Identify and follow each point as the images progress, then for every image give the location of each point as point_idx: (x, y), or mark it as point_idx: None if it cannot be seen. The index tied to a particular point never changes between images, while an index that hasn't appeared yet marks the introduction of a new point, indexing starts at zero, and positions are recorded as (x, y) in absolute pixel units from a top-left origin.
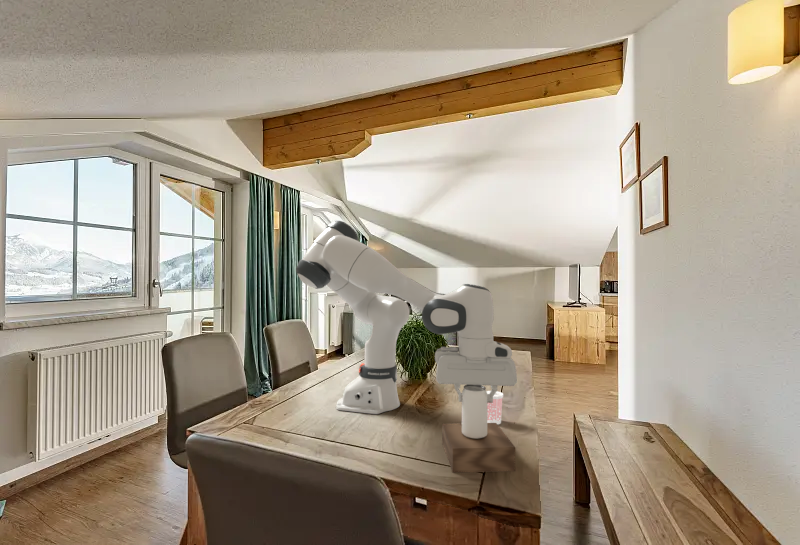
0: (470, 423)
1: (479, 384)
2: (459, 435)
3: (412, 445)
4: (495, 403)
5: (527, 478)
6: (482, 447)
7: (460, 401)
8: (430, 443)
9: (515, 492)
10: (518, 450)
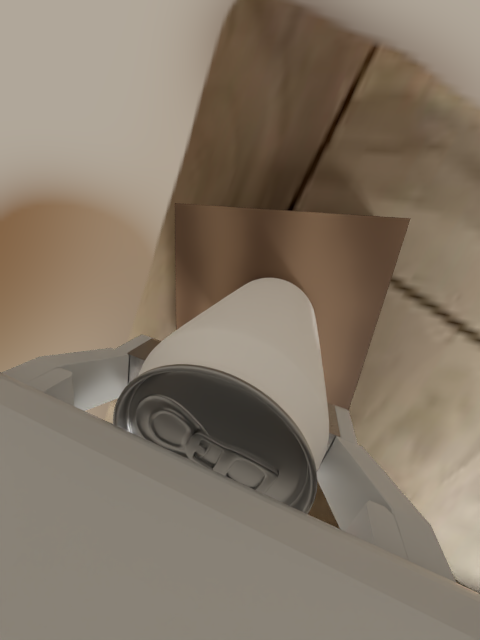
0: (298, 298)
1: (140, 439)
2: (325, 325)
3: (428, 400)
4: None
5: (191, 170)
6: (283, 213)
7: (335, 405)
8: (367, 395)
9: (247, 91)
10: (166, 309)
